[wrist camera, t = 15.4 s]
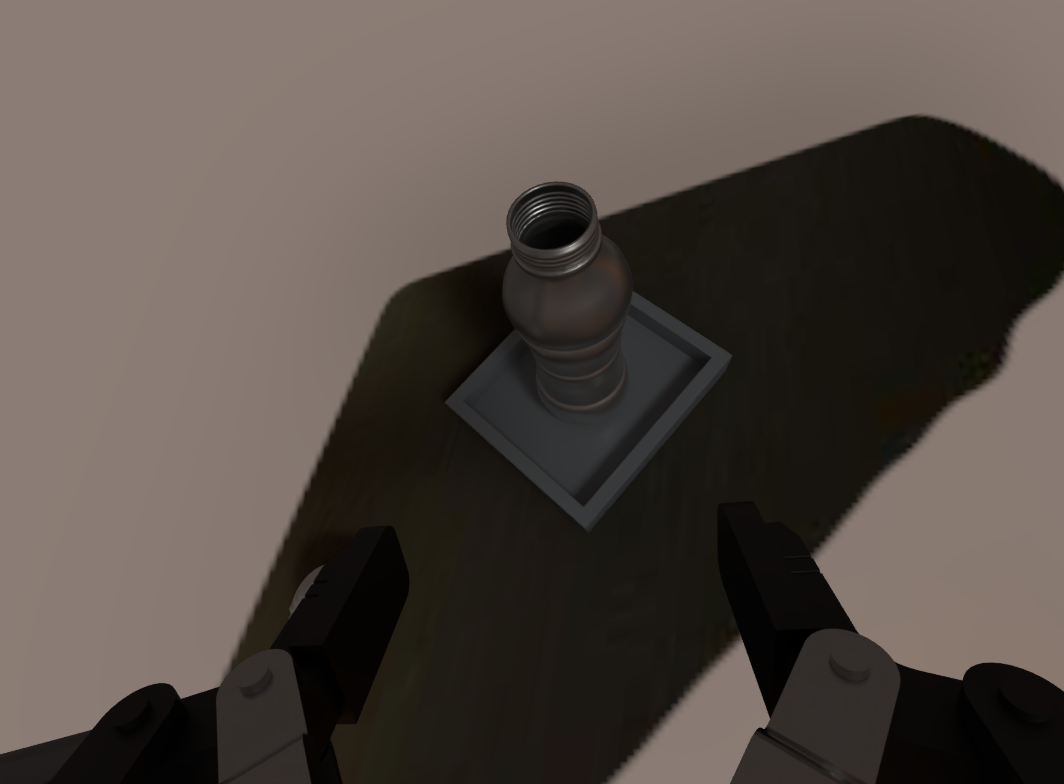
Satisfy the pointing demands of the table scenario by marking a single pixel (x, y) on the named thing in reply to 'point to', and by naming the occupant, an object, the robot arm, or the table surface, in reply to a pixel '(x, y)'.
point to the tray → (609, 445)
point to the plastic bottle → (568, 301)
